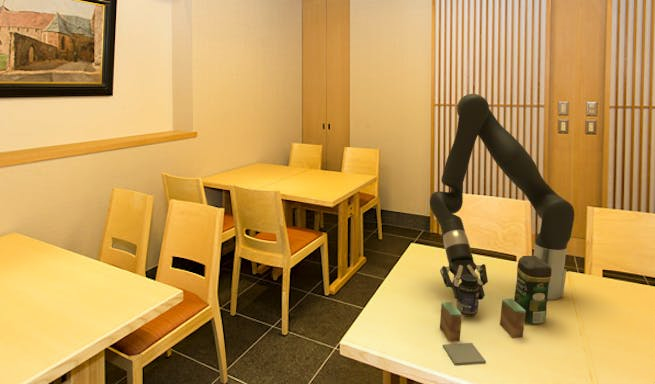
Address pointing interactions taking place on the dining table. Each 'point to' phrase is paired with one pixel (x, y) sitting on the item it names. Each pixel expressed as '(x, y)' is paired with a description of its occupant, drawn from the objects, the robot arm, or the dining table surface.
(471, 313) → the pill bottle
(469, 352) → the slate pad
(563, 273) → the robot arm
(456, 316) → the walnut channel
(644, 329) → the dining table surface
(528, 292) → the coffee jar
